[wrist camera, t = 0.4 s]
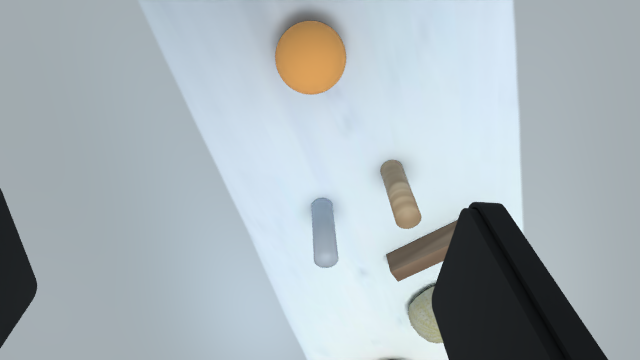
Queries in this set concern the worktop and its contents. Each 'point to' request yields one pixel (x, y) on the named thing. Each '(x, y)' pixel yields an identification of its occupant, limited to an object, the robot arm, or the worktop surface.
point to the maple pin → (400, 195)
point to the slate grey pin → (324, 233)
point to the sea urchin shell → (424, 317)
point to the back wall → (421, 253)
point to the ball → (310, 57)
